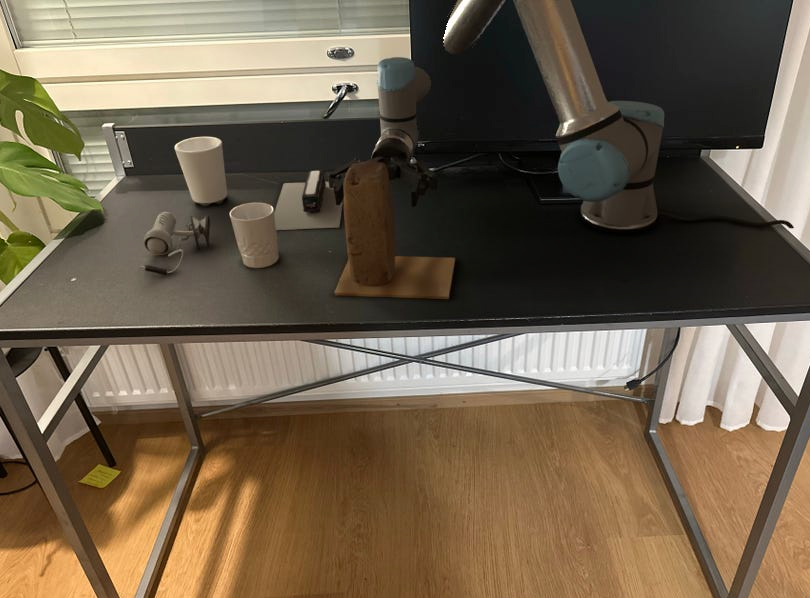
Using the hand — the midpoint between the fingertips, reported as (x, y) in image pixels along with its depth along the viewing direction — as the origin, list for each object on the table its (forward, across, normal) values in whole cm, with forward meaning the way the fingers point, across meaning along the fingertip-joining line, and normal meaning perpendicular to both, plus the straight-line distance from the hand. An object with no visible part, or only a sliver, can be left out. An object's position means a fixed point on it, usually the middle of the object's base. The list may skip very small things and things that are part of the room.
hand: (375, 198), depth 122 cm
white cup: (-1, +23, -13) cm, 27 cm away
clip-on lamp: (-2, +40, -13) cm, 42 cm away
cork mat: (+4, -4, -13) cm, 14 cm away
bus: (-27, +20, -13) cm, 36 cm away
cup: (-28, +43, -13) cm, 53 cm away
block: (+4, 0, -13) cm, 13 cm away
